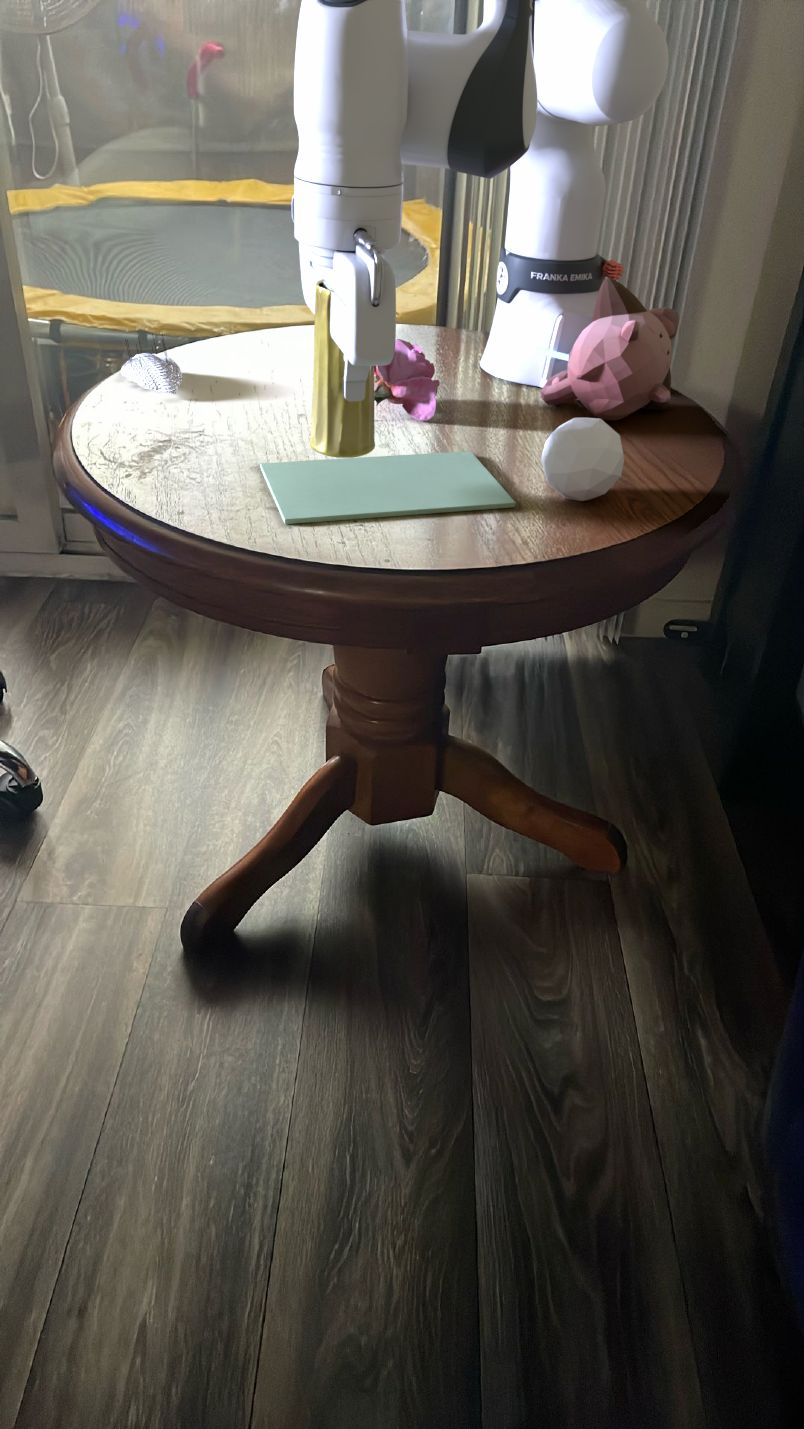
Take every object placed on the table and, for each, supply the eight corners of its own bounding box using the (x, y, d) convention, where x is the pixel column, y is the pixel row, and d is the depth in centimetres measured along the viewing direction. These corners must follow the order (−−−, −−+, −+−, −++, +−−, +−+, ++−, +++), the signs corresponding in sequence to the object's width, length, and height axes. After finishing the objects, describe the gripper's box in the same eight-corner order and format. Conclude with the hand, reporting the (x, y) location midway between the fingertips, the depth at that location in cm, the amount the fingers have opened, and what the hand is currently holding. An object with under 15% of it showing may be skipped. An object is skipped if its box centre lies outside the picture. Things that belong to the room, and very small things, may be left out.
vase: (356, 464, 92) (361, 298, 84) (297, 449, 94) (296, 286, 86) (386, 442, 97) (393, 283, 89) (328, 429, 99) (331, 272, 90)
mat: (470, 455, 107) (470, 450, 107) (515, 507, 97) (515, 502, 96) (260, 468, 101) (259, 463, 101) (284, 524, 91) (284, 519, 91)
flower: (402, 420, 124) (456, 354, 119) (406, 458, 116) (464, 390, 111) (325, 363, 119) (378, 293, 114) (324, 399, 111) (380, 325, 106)
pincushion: (198, 392, 117) (189, 342, 113) (148, 405, 114) (136, 354, 111) (159, 364, 125) (149, 317, 122) (111, 376, 123) (100, 328, 119)
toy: (598, 312, 105) (671, 242, 111) (494, 345, 117) (565, 280, 123) (661, 451, 112) (726, 378, 119) (558, 469, 125) (621, 401, 131)
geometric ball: (559, 513, 103) (560, 434, 103) (636, 504, 98) (637, 421, 99) (526, 497, 96) (527, 413, 97) (608, 487, 92) (608, 398, 92)
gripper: (420, 246, 77) (409, 425, 85) (356, 196, 93) (352, 351, 101) (338, 245, 75) (335, 428, 83) (287, 195, 91) (288, 353, 99)
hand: (344, 386), depth 92 cm, fingers closed on vase, 5 cm apart
